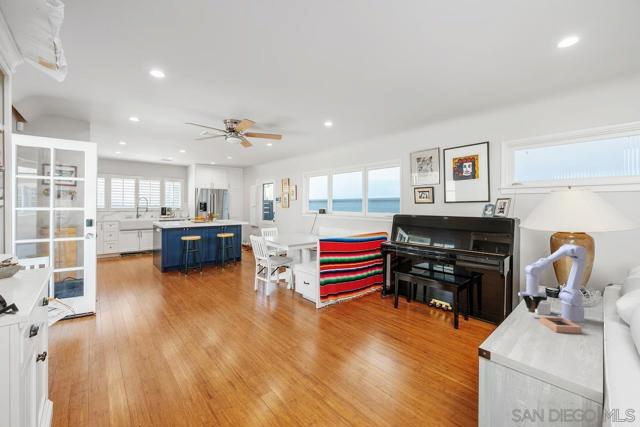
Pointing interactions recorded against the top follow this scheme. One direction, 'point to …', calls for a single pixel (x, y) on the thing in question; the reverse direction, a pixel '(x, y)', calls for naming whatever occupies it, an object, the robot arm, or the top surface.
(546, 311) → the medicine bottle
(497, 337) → the top surface
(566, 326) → the orange square tray
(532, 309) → the wick peg
